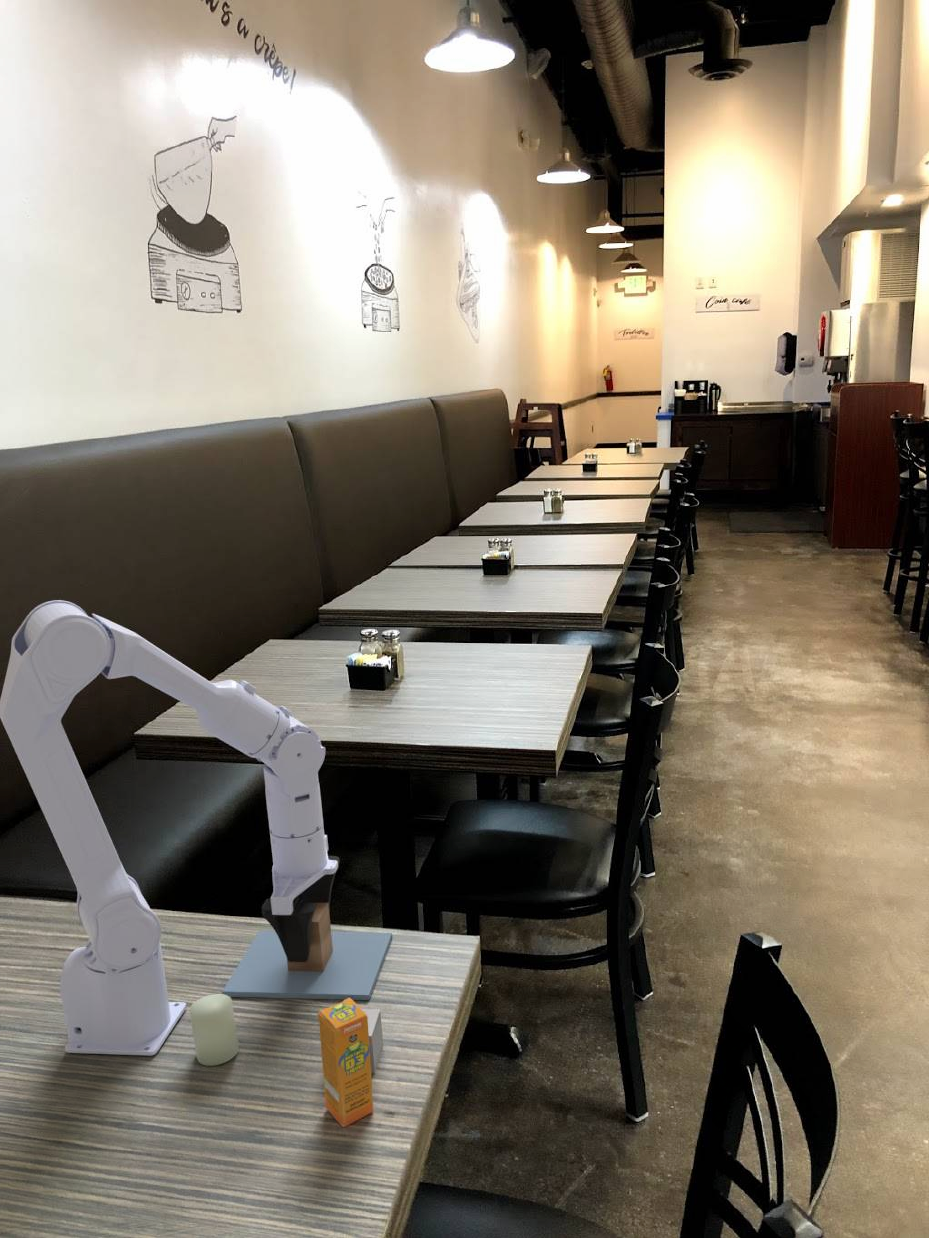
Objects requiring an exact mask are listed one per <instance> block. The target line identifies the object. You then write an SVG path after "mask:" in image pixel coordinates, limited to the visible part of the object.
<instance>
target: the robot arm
mask: <svg viewBox="0 0 929 1238" xmlns="http://www.w3.org/2000/svg"><path fill="white" fill-rule="evenodd" d="M91 615H92V617H91V616H89V615H88V614H87V612H86V611H85V610H84V609H83V608H81V606H79V605H77V604H76V603H74V602H71V601H68V600H67V601H66V600H63V599H62V600H61V599H59V600H57V599H55V600H54V599H53V600H50V601H45V602H42V603H40V604H39V605H36V607H34V609H32V610H30V612H29V613H28V615H26V617H25V618H24V620H23V621H22V623H21V625H20V626H19V627H18V628H17V630H16V632H15V633H14V635H13V636H12V638H11V647H10V648H11V649H10V655H9V660H8V665H7V670H6V674H5V677H4V678H5V679H4V683H3V687H2V691H1V695H0V720H1V723H2V725H3V727H4V729H5V731H6V732H5V733H6V734H7V735H8V738H9V740H10V742H11V745H12V747H13V749H14V752H15V754H16V755H17V759H18V760H19V762H20V765H21V767H22V769H23V771H24V773H25V775H26V778H27V780H28V782H29V785H30V787H31V789H32V791H33V794H34V796H35V798H36V800H37V802H38V805H39V807H40V809H41V811H42V813H43V816H44V818H45V820H46V822H47V824H48V827H49V828H50V831H51V833H52V835H53V838H54V841H55V842H56V844H57V847H58V848H59V851H60V853H61V855H62V858H63V860H64V862H65V865H66V866H67V869H68V870H69V873H70V876H71V878H72V880H73V882H74V885H75V888H76V890H77V898H76V907H75V908H76V914H77V917H78V919H79V921H80V923H82V925H83V927H84V928H85V931H86V934H87V936H88V941H87V942H86V946H82V947H77V948H76V949H74V950H73V951H71V953H70V954H69V956H68V957H67V959H66V960H65V962H64V964H63V967H62V971H61V977H60V983H59V984H60V985H59V987H60V988H59V990H60V992H59V993H60V998H61V1005H62V1010H63V1016H64V1017H63V1018H64V1022H65V1028H66V1033H67V1038H68V1043H67V1044H66V1045H65V1047H64V1051H65V1053H71V1054H72V1053H73V1054H96V1055H98V1054H99V1055H126V1056H127V1055H128V1056H148V1057H149V1056H154V1055H156V1054H157V1053H158V1052H159V1050H160V1049H161V1048H162V1045H163V1044H164V1042H165V1041H166V1040H167V1038H168V1036H169V1034H170V1033H171V1032H172V1030H173V1028H174V1027H175V1026H176V1024H177V1022H178V1021H179V1019H180V1018H181V1017H182V1015H183V1014H184V1012H185V1010H186V1009H187V1003H186V1002H184V1001H169V995H168V994H169V992H168V987H167V981H166V974H165V966H164V965H165V964H164V959H163V958H164V957H163V953H162V945H161V940H162V939H161V937H162V925H161V922H160V919H159V917H158V915H157V914H156V913H155V912H154V911H153V910H152V909H151V908H150V905H149V904H148V902H147V900H146V899H145V898H144V896H143V893H142V890H141V889H140V887H139V884H138V883H137V881H136V880H135V878H133V877H132V876H130V875H129V874H128V873H127V872H126V869H125V868H124V865H123V863H122V861H121V860H120V857H119V854H118V851H117V849H116V848H115V845H114V843H113V840H112V838H111V836H110V834H109V831H108V828H107V826H106V824H105V822H104V820H103V817H102V815H101V812H100V811H99V807H98V805H97V803H96V801H95V798H94V797H93V794H92V792H91V790H90V787H89V785H88V782H87V779H86V777H85V775H84V773H83V771H82V769H81V766H80V764H79V761H78V759H77V756H76V755H75V752H74V750H73V747H72V745H71V742H70V741H69V738H68V736H67V733H66V731H65V729H64V726H63V723H62V718H63V716H64V715H65V713H66V711H67V710H68V708H69V707H70V704H71V703H72V701H73V700H74V698H75V696H76V695H77V694H78V693H80V691H83V690H84V688H85V687H86V686H87V685H89V684H90V683H91V682H92V681H93V680H95V679H96V678H97V676H99V675H100V674H102V675H103V676H104V677H105V678H106V680H107V679H108V680H112V679H119V678H123V677H124V678H125V677H129V676H130V677H131V676H132V677H136V678H137V679H139V680H141V681H143V682H144V683H146V684H148V685H150V686H152V687H153V688H155V689H157V690H160V691H161V692H163V693H164V694H167V695H168V696H171V697H172V698H173V699H176V700H177V701H179V702H181V703H183V704H185V705H186V706H189V707H190V708H191V709H193V710H195V712H196V715H197V720H198V725H199V727H200V729H201V730H203V731H204V732H206V733H208V734H210V735H212V736H214V737H215V738H217V739H219V740H220V741H222V742H224V743H225V744H228V746H230V747H233V748H234V749H236V750H238V751H240V752H242V753H243V754H244V755H246V756H247V757H250V758H255V759H256V760H257V761H258V762H263V763H264V764H265V766H263V769H262V770H263V776H264V778H263V779H264V787H265V788H264V789H265V792H264V793H265V800H266V810H267V819H268V828H269V835H270V845H271V853H272V854H271V855H272V863H273V865H272V867H271V868H272V869H271V872H272V876H271V877H272V886H273V888H272V889H273V892H272V893H271V896H270V898H266V900H265V901H264V902H263V904H262V906H261V914H262V917H263V918H264V920H266V921H267V922H268V924H269V925H270V926H271V927H272V929H273V931H275V932H276V933H277V935H278V937H279V940H280V942H281V944H282V947H283V949H284V952H285V954H286V957H287V959H288V961H289V962H307V960H308V958H309V953H310V933H311V924H312V919H313V915H314V912H315V909H316V907H317V904H318V903H328V905H329V908H330V907H331V896H332V889H333V884H334V879H335V876H336V874H337V871H338V869H339V865H340V862H341V859H340V857H339V856H336V855H329V854H328V851H329V843H328V835H327V834H325V829H324V817H323V807H322V796H321V788H320V782H319V771H320V769H321V767H322V765H323V763H324V761H325V756H326V747H325V746H323V745H322V741H321V740H320V737H319V735H318V734H317V732H315V730H313V729H312V728H310V727H309V726H307V725H306V724H304V723H303V722H302V721H300V720H298V719H296V718H295V717H293V716H292V711H291V710H290V709H288V708H287V707H285V706H284V705H280V706H279V707H277V706H276V705H274V704H272V703H270V702H269V701H267V700H266V699H264V698H262V697H261V696H260V695H258V694H256V691H257V687H255V686H254V685H252V684H251V683H249V682H247V681H246V680H243V679H242V680H241V682H240V683H239V682H237V681H235V680H233V679H227V680H221V681H217V682H211V681H210V680H208V679H207V678H205V677H204V676H202V675H200V674H199V673H198V672H196V671H194V670H193V669H191V668H190V667H188V666H187V665H185V664H183V663H182V662H181V661H179V660H177V659H176V658H175V657H173V656H171V655H170V654H168V653H167V652H165V651H164V650H162V649H161V648H159V647H157V646H156V645H154V644H153V643H151V642H150V641H148V640H147V639H146V638H144V637H142V636H141V635H139V634H138V633H137V632H135V631H132V630H130V629H128V628H126V627H124V626H122V625H120V624H118V623H116V622H113V621H112V620H109V619H107V618H105V617H103V616H100V615H97V614H95V613H91ZM300 897H301V899H300Z"/></svg>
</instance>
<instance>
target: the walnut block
mask: <svg viewBox="0 0 929 1238" xmlns="http://www.w3.org/2000/svg"><path fill="white" fill-rule="evenodd" d="M330 917H331V915H330V907H329V905H328V903H318V904H317V907H316V909H315V912H314V915H313V919H312V924H311V933H310V953H309V958H308V960H307V962H289V961H288V959H287V965H288V971H316V972H324V970H325V968H326V965H327V963H328V961H329V959H330V957H331V955H332V952H333V945H332V935H331V932H332V928H331V919H330Z"/></svg>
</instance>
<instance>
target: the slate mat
mask: <svg viewBox="0 0 929 1238" xmlns="http://www.w3.org/2000/svg"><path fill="white" fill-rule="evenodd" d="M331 935H332V945H333V952H332V955H331V957H330V959H329V961H328V963H327V965H326V968H325V970H324V972H316V971H288V965H287V957H286V954H285V952H284V949H283V947H282V944H281V942H280V940H279V937H278V935H277V933H276V932H275V930H259V931H258V932H257V934H256V936H255V937H254V939H253V941H252V942H251V944H250V946H249V947H248V949H247V950H246V952H245V954H244V955H243V956H242V958H241V960H240V962H239V963H238V965H237V967H236V968H235V969H234V971H233V972H232V974H231V976H230V978H229V979H228V981H227V983H226V984H225V986H224V988H223V989H222V991H221V994H224V995H227V996H229V997H230V998H233V997H236V998H268V999H269V998H270V999H271V998H272V999H273V998H274V999H276V998H278V999H307V1000H310V999H313V1000H342V1001H344V1000H345V999H347V998H351V999H352V1000H353V1001H370V1000H371V997H372V994H373V992H374V989H375V986H376V984H377V980H378V979H379V975H380V972H381V969H382V966H383V964H384V961H385V959H386V956H387V954H388V951H389V948H390V945H391V943H392V939H393V933H392V932H369V931H368V932H367V931H365V932H364V931H362V932H359V931H331Z"/></svg>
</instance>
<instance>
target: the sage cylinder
mask: <svg viewBox="0 0 929 1238" xmlns="http://www.w3.org/2000/svg"><path fill="white" fill-rule="evenodd" d="M233 1006H234V1005H233V999H232V997H229V996H227V995H224V994H222V993H215V994H209V995H205V996H203V997H201V998H199V999H197V1000H196V1001H194V1002H192V1004H191V1005H190V1007H189V1016H190V1023H191V1030H192V1035H193V1037H192V1038H193V1042H194V1048H195V1055H196V1060H197V1062H198V1063H199V1064H200V1065H203V1066H218V1065H222V1064H224V1063H226V1062H227V1063H228V1061H230V1060H232V1059H233V1058H234V1057H236V1055H237V1054H238V1052H239V1049H240V1047H239V1040H238V1032H237V1026H236V1018H235V1013H234V1012H235V1011H234V1007H233Z"/></svg>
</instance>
